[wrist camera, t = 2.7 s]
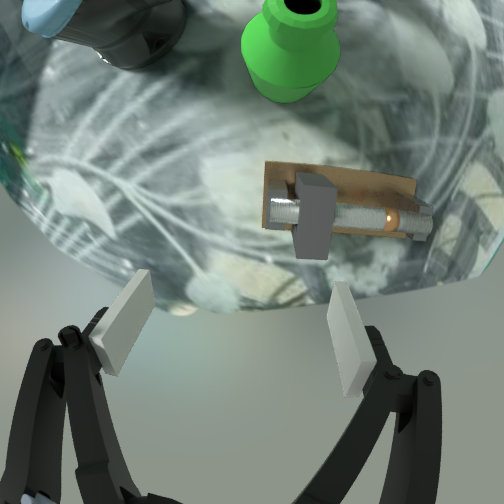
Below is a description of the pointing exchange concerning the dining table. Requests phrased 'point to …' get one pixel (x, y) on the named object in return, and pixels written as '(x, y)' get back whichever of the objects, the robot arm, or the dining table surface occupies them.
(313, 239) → the grey sliding block
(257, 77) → the bottle
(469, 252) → the dining table surface
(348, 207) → the pipe stand
